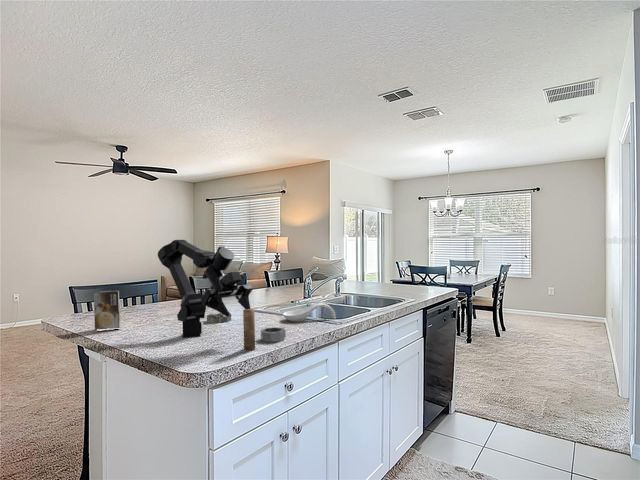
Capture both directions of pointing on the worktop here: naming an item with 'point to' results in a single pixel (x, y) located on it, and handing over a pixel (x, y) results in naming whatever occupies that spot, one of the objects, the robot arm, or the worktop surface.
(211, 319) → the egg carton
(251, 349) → the dowel
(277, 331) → the ring
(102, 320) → the coffee box
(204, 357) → the worktop surface
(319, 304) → the spoon rest
